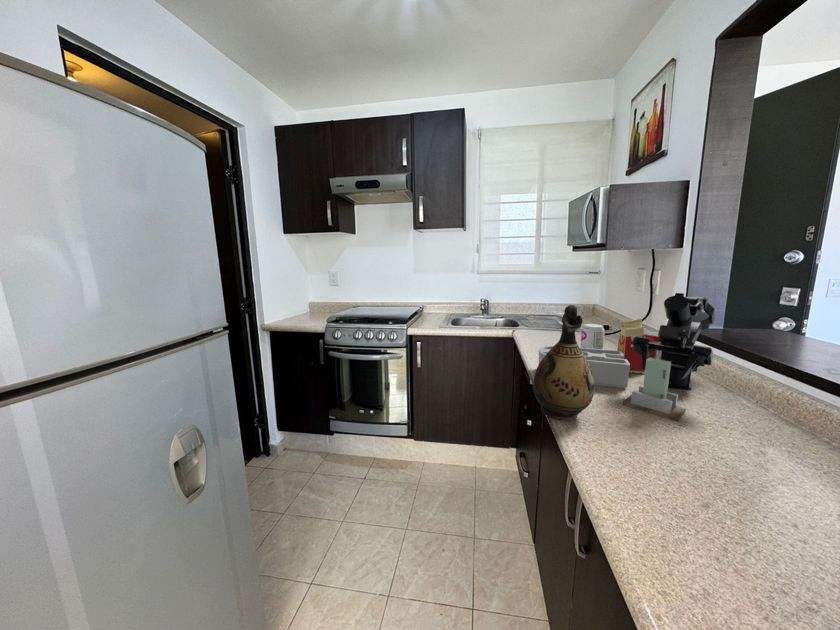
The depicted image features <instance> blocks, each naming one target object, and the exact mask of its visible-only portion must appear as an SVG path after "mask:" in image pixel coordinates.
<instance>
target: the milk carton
mask: <svg viewBox="0 0 840 630" xmlns="http://www.w3.org/2000/svg"><path fill="white" fill-rule="evenodd" d="M642 321H643V317H640V318H635V319H633V320H624V321H620V323H621V329H620V334H619V336H618V337H619V339H618V343H617V350H616V351H621V352H622V353H623V355H624V359H627V360H628V362H629V363H630V370H629V373H632V372H634V374H640V373H642V374H641V375H645V371H644V370H643V364H642V355H640V354H638V352H636V351H635V350H634V347H633V344H632V341H633V338H635V337H636V336H639V337H644V332H645V331H644V328H643V322H642Z"/></svg>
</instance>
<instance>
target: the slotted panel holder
mask: <svg viewBox="0 0 840 630" xmlns="http://www.w3.org/2000/svg"><path fill="white" fill-rule="evenodd" d="M678 399H679V394H678V393H673V392H670V391H667V399H664V398H661V397H657V396H653V395H649V394H645V393H643V385H639V386H638V391H637V390H633V391H632V392H631V394H630V395H629V396H627V398H625V399H623V401H622V402H621V403H622V405H623V406H625V405H626V406H625V407H629V408H633V409H636V410H639V411H641V412H645V413H650V414H653V415H656V416H660V417H662V418H666V419H668V420H669V419H670V420H673V421H675V422H679V421H680V419H681V418H682V417H683V415H684V414H685V413H686V410H687V408H686V407H683V406H679V405H678Z"/></svg>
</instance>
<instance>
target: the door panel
mask: <svg viewBox="0 0 840 630" xmlns="http://www.w3.org/2000/svg"><path fill="white" fill-rule="evenodd" d="M670 368H671V362H670V361H664V360H659V359H654V358H649V359H647V360H646V368H645V374H644V380H643V385H642V386H643V393H645V394H649V395H653V396H657V397H661V398H664V399H667V392H669V391H668V390H669V387H668V383H669V375H670Z"/></svg>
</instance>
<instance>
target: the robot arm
mask: <svg viewBox="0 0 840 630" xmlns="http://www.w3.org/2000/svg"><path fill="white" fill-rule="evenodd" d="M663 305H664V310H665V317H666V319H667V323H666V325H665V324H662V325H661V324H660V325H659V329H658V332H659V333H658V336H659V339H658V340H659V342H660V344H656V343H650V339H649V338H646V337H639V336H636V337H635V338H633V341H632V344H633V347H634V350H635V351H636V352H638V354H640V355H642V364H643V370H644V371H645V368H646V360H647V359H649V357H650V354H649V352H650V351H651V349H653V350H659V351H662V353H661V360H664V361H670V362H671V368H670V375H669V383H668V389H669V388H670V389H681V390H689V391H690V390H692V389H693V387H691V386H690V385H691V378H692V377H691V376H692V373H694V372H698V369H699V368H700V367H705V366H711V365H712V363H713V359H714V354H713V353H714V351H713V350H714V349H712V348H711V347H710V346H705V345H697V344H696V342H697V339H698V338H699V335H700V333H701V332H702V331H705V330H709V329H710V327H711V325H713V324H715V318H716V317H715V316H716V314H715V312H716V311H715V307H713V306H712V305H711V304H710V303H709V299H708V298H707V297H705V296H685V293H683V292H675V294H674V295H672V296H669V297H667V298H666V299H665V300H664V302H663Z"/></svg>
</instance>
